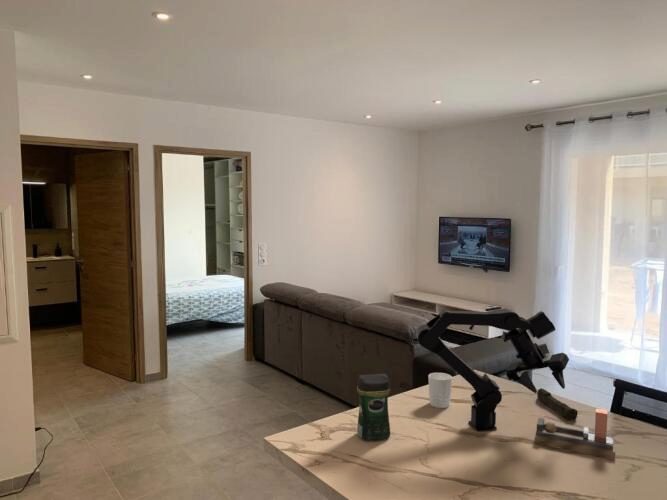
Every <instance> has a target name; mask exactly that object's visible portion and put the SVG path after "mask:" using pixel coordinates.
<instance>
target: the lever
mask: <svg viewBox="0 0 667 500" xmlns="http://www.w3.org/2000/svg"><path fill="white" fill-rule="evenodd" d="M594 420H595V421H594V433H595V434H590V433H588V432H590V430H589V427H587V426H584V427H583V431H584V436H583V439H586V440H591V441H596V442H601V443H607V444H612V445H613V439H614V438H613V436H612V437H607V436H606V435H608V434H607V433H608V432H607V430H608V410H606V409H601V408H595V419H594Z"/></svg>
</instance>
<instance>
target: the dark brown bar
mask: <svg viewBox="0 0 667 500" xmlns="http://www.w3.org/2000/svg"><path fill="white" fill-rule="evenodd" d="M536 395H537V400H538V401H539V402H540V403H541V404H542V405H544V406H548V407H549V408H551V409H553V410H554V411H555V412H557V413H559V414H560V415H561V416H562V417H564V418H565V419H566V421H568V422H570V421H576V420H577V418H578V413H579V411H578V410H577V409H576V408H572V407H570V406H569V405H567V404H566V403H564V402H562V401H560V400H558V399H557V398H555V397H554V396H552V393H551V392H549V391H548V390H546V389H545V388H539V389H537V393H536Z"/></svg>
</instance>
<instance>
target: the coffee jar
mask: <svg viewBox="0 0 667 500" xmlns="http://www.w3.org/2000/svg"><path fill="white" fill-rule="evenodd" d="M356 390H357V393H358V395H359V407H358V415H357V416H358V418H357V436H358V438H359V439H361V440H363V441H364V442H376V441H385V440H388V439H389V438H390V436H391V426H390V425H391V423H390V416H389V415H390V414H389V405H388V404H389V403H388V399H389V394H390V393H391V392H390V391H391V385H390V379H389V377H388V376H387V374H385V373H378V374H377V373H375V374H371V373H370V374H359V375H358V378H357V387H356Z"/></svg>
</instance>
